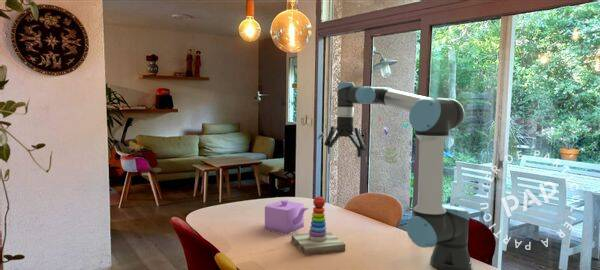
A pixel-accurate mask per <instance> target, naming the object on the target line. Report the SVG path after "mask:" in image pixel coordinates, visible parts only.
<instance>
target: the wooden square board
mask: <svg viewBox="0 0 600 270" xmlns="http://www.w3.org/2000/svg"><path fill="white" fill-rule="evenodd" d="M326 235H327V239H326V240H324V241H312V240H310V239H309V232H307V233H304V232H303V233H295V234H291V242H292V243H293V245H294V246H296V247H297V249H298V250H299V251H300V252H301V253H302V254H303V255H304V256H311V255H319V254H328V253H338V252H339V253H340V252H345V251H346V243H344V241H342V240H341V239H339V238H338V237H337V236H335V234H333V233H331V231H329V230H327V231H326Z"/></svg>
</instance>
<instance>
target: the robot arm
mask: <svg viewBox="0 0 600 270" xmlns="http://www.w3.org/2000/svg"><path fill="white" fill-rule="evenodd" d="M336 92H337V102H336V103H337V105H336V106H337V108H336V109H337V111H336V115H337V117H336V125H337V126H336V125H331V126H330V131H329V133H328V136H327V137H326V140H325V142H324V144H323V145H324V146H326V147H327V153H328V154H329V159H328V160H329V162H334V161H335V160H334V155H335V147H334V145H335V144H336V142H337V141H338V140H339V139H340V138H342V137H345V138H349V140H350V141H351V142H352V143H353V144H354V146H355V148H356V149H355V156H354V157H355V160H354V161H355V165H359V164H360V163H361V162H360V161H361V160H360V159H361V157H362V151H363V149H366V148H367V146H366V143H365V142H364V140H363V137H362V134H361V129H360V127H359V126H358V127H354V113H355V111H354V110H355V109H354V108H355V104H358V105H359V104H361V105H371V104H372V105H384V106H387V107H390V108H394V109H397V110H402V111H406V112H408V121H409V124H410V125H411V127H412V129H413V130H415V132H414V134H415V137H416V138H417V139H418V141H419V143H418V144H419V146H418V176H417V178H418V179H417V182H418V183H417V185H418V186H417V203H416V205H415V206H414V207H413V209H412V211H413V213H412V216H411V217H410V218H409V219H408V220H407V222H406V227H405V229H406V234H407V236H408V237H409V239H411V242H412V243H413V244H414V245H416V246H417V247H418V248H424V249H425V248H433V247H434V248H433V249H432V253H431V255H430V258H429V260H430V261H429V262H430V265H431V266H432V267H434V268H436V269H438V270H470V269H471V270H472V264H473V263H472V259H471V255H470V252H469V249H468V244H469V243H468V241H469V223H470V213H469V212H470V211H468V210H467V209H466V208H463V207H460V206H456V205H449V204H448V205H447V204H443V187H444V185H443V184H444V154H445V153H444V151H445V140H446V139H447V138H448V137H449V135H450V130H453V129H455V128H457V127H458V126H460V125H461V124H462V122H463V121H464V119H465V110H464V109H465V108H464V107H463V105H462V104H461V102H459V101H458V100H456V99H454V98H447V97H446V98H443V97H436V98H435V97H429V96H424V95H418V94H415V93H410V92H405V91H401V90H398V89H394V88H392V87H389V86H368V85H360V86H355V83H354V82H352V81H347V82H345V81H343V82H342V81H341V82H339V83H338V84H337V91H336ZM336 131H337V132H336ZM353 132H354V133H355V134H354V133H353ZM335 133H336V134H335ZM355 136H356V137H355Z"/></svg>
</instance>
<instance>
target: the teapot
mask: <svg viewBox="0 0 600 270" xmlns="http://www.w3.org/2000/svg"><path fill="white" fill-rule="evenodd" d="M309 209H310V208H309V207H305V204H304V203H302V202H301V203H300V202H293V201H289V200H287V199H282V200H278V201H277V202H274V203H271V204H266V205H265V206H264V230H265V229H266V230H265V231H267V230H270V231H269V232H272V231H274V232H273V233H276V232H278V233H277V234H281V233H282V235H285V234H287V235H290V234H291V232H292V233H293V232H296V231H298V230H301V228H304V227H305V225H304V224H305V223H304V222H305V221H304V220H305V211H306V210H309ZM289 233H290V234H289Z"/></svg>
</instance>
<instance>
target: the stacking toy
mask: <svg viewBox="0 0 600 270" xmlns="http://www.w3.org/2000/svg"><path fill="white" fill-rule="evenodd" d="M312 203H313V206H314V207H313V209H312V214H311V222H310V228H309V231H308V233H309V239H310V240H312V241H324V240H326V239H327V235H326V230H327V226H326V225H327V224H326V223H327V222H326V216H325V215H326V214H325V212H326V211H325V210H326V209H325V208H324V206H325V204H326V200H325V198H324V197H322V196H316V197H315V198H314V199H313V202H312Z"/></svg>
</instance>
